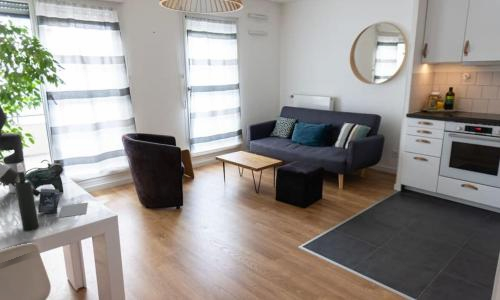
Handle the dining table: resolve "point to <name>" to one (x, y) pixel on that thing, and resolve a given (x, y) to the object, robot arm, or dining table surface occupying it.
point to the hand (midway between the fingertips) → (39, 194)
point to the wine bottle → (26, 201)
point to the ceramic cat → (46, 176)
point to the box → (48, 201)
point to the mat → (73, 210)
